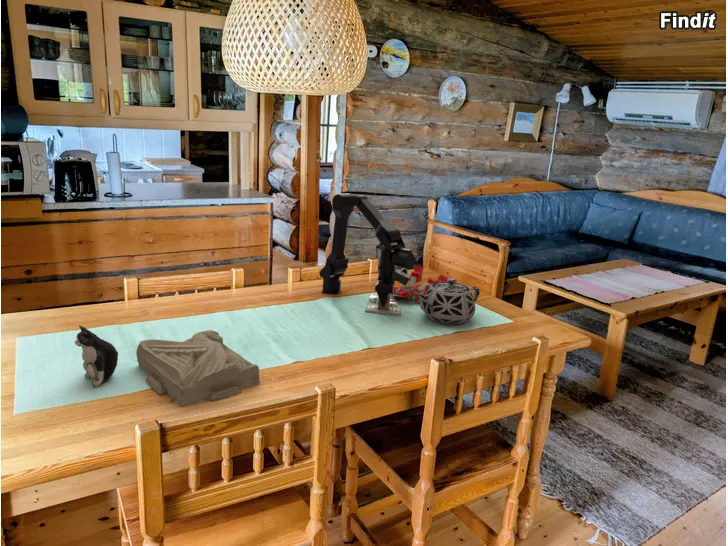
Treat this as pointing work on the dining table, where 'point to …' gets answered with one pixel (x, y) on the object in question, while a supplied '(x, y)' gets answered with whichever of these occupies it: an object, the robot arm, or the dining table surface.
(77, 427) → the dining table surface
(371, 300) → the tealight
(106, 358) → the figurine
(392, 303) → the tealight
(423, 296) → the teapot
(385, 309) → the block
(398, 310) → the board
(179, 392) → the sculpture
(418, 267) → the toy robot
